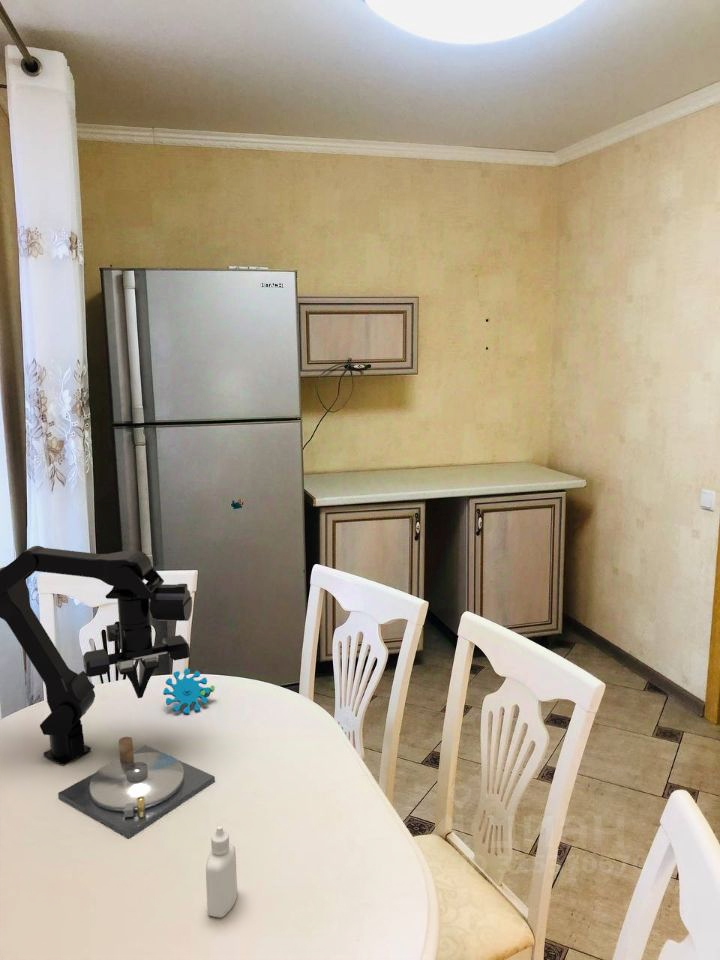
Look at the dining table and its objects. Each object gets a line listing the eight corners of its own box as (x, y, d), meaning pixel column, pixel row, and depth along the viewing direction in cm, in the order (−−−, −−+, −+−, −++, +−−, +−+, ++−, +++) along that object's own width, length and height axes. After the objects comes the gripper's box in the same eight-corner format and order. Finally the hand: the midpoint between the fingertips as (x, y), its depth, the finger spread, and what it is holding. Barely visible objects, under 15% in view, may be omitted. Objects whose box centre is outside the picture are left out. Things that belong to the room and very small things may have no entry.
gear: (162, 712, 153) (164, 667, 159) (160, 721, 158) (161, 677, 164) (215, 711, 157) (215, 667, 163) (211, 720, 161) (211, 677, 167)
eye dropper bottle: (197, 906, 102) (193, 830, 100) (229, 885, 106) (226, 811, 104) (215, 923, 99) (212, 844, 97) (248, 900, 103) (245, 824, 101)
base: (58, 798, 127) (56, 777, 126) (145, 749, 142) (144, 730, 141) (128, 838, 116) (127, 816, 115) (214, 781, 132) (214, 761, 131)
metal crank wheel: (93, 826, 117) (91, 796, 116) (87, 769, 133) (85, 743, 132) (193, 801, 124) (191, 773, 123) (175, 750, 139) (174, 725, 138)
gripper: (174, 598, 147) (178, 671, 150) (76, 614, 138) (82, 690, 141) (188, 616, 137) (192, 693, 140) (84, 634, 129) (90, 715, 131)
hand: (139, 697), depth 138 cm, fingers closed
